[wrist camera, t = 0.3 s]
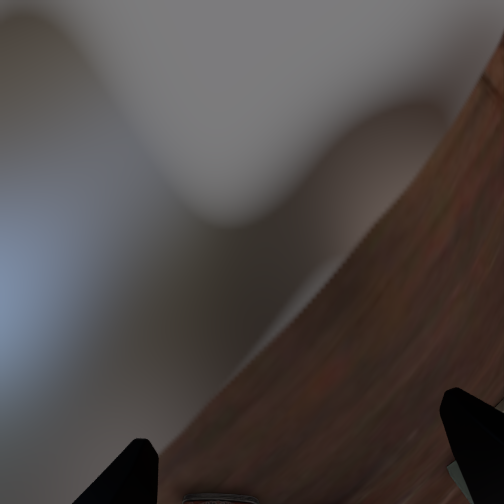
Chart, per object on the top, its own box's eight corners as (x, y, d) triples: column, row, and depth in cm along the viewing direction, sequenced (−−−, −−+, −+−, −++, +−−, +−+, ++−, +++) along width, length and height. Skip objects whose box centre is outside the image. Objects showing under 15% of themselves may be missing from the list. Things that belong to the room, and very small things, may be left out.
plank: (450, 475, 25) (485, 523, 15) (446, 466, 25) (484, 517, 15) (475, 455, 25) (515, 499, 15) (473, 446, 25) (515, 491, 15)
